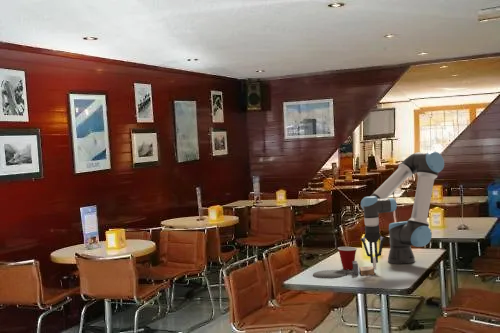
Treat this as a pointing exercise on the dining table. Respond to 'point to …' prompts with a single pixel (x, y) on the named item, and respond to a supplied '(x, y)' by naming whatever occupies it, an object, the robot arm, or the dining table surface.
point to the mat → (329, 274)
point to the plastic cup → (347, 256)
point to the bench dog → (355, 267)
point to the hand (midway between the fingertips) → (374, 268)
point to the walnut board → (367, 270)
